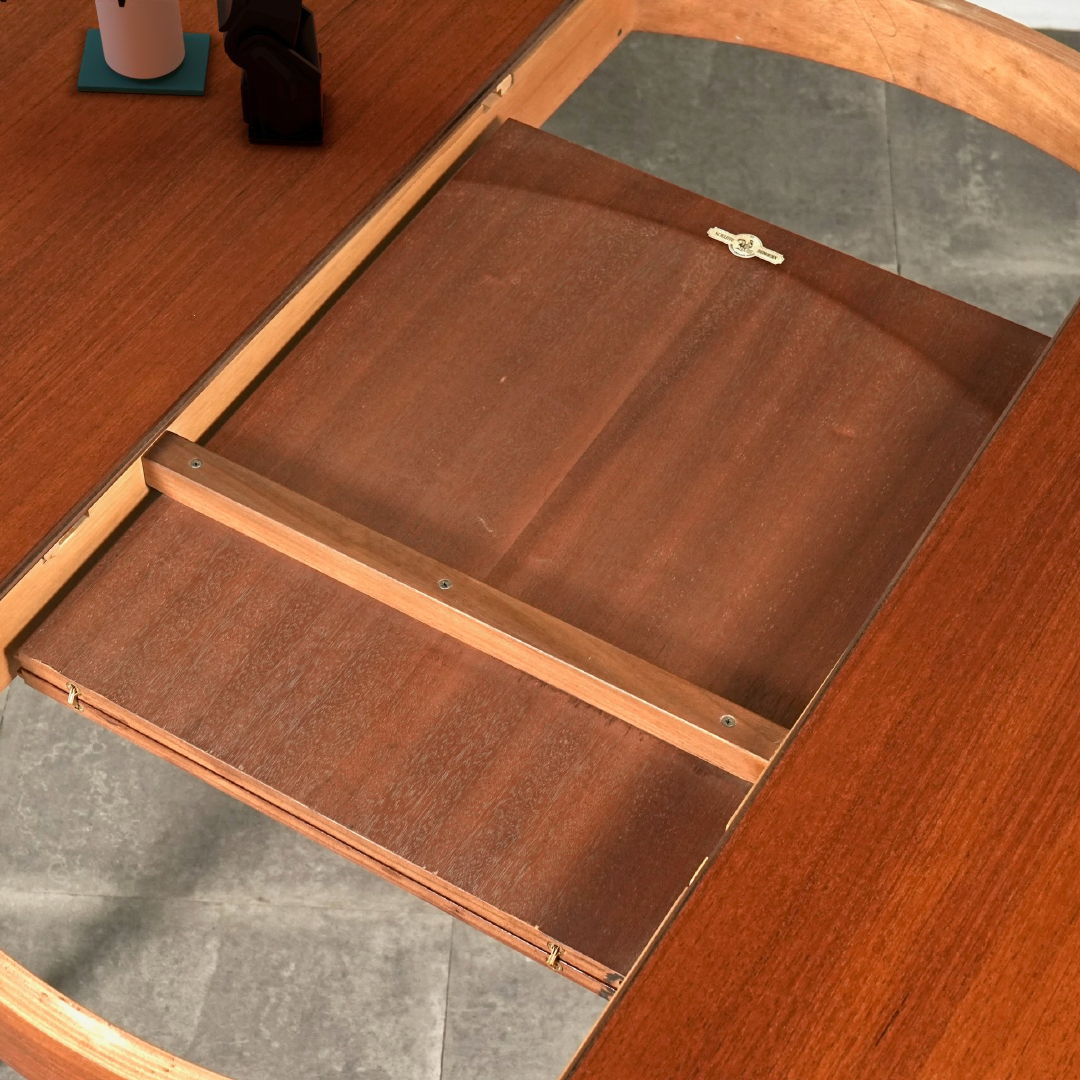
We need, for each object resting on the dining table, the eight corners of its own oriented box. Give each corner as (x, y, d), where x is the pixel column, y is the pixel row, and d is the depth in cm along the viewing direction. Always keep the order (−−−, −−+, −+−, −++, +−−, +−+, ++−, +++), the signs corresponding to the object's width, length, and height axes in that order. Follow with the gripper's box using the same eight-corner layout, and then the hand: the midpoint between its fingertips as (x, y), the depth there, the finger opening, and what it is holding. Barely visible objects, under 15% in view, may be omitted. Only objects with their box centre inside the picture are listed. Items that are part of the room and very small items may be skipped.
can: (172, 90, 141) (156, -27, 131) (94, 77, 141) (73, -41, 131) (195, 41, 145) (181, -76, 135) (119, 28, 145) (100, -90, 135)
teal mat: (211, 39, 146) (210, 33, 146) (204, 95, 142) (203, 90, 141) (88, 34, 145) (87, 28, 145) (77, 91, 141) (76, 85, 140)
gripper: (-128, -126, 109) (-75, 61, 122) (149, -112, 111) (173, 71, 124) (-97, -214, 116) (-50, -27, 128) (164, -199, 117) (185, -17, 130)
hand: (63, 1), depth 127 cm, fingers open, 9 cm apart
